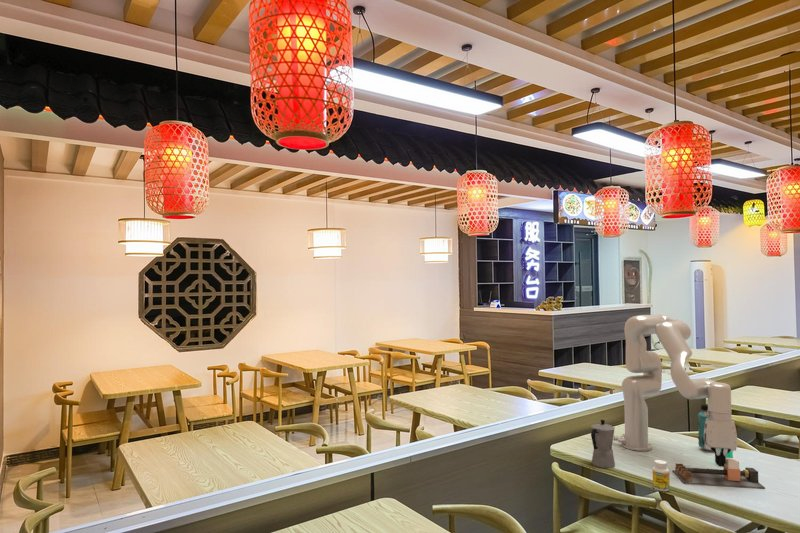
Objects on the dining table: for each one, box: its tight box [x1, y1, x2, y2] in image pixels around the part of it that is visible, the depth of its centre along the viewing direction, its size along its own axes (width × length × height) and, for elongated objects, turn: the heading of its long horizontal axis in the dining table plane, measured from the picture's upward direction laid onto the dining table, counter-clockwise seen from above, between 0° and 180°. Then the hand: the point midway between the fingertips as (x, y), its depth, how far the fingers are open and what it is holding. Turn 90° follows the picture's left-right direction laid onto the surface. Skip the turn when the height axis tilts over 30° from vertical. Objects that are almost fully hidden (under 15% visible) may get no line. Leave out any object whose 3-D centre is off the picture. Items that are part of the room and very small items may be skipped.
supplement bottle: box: [652, 459, 671, 492], centre depth 184 cm, size 5×5×10 cm
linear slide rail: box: [672, 462, 766, 490], centre depth 192 cm, size 27×12×5 cm, turn 80°
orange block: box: [722, 457, 741, 481], centre depth 191 cm, size 4×4×7 cm
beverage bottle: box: [697, 403, 708, 450], centre depth 224 cm, size 6×7×20 cm
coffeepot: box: [590, 419, 616, 469], centre depth 207 cm, size 15×9×18 cm, turn 131°
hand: (720, 465), depth 191 cm, fingers closed
